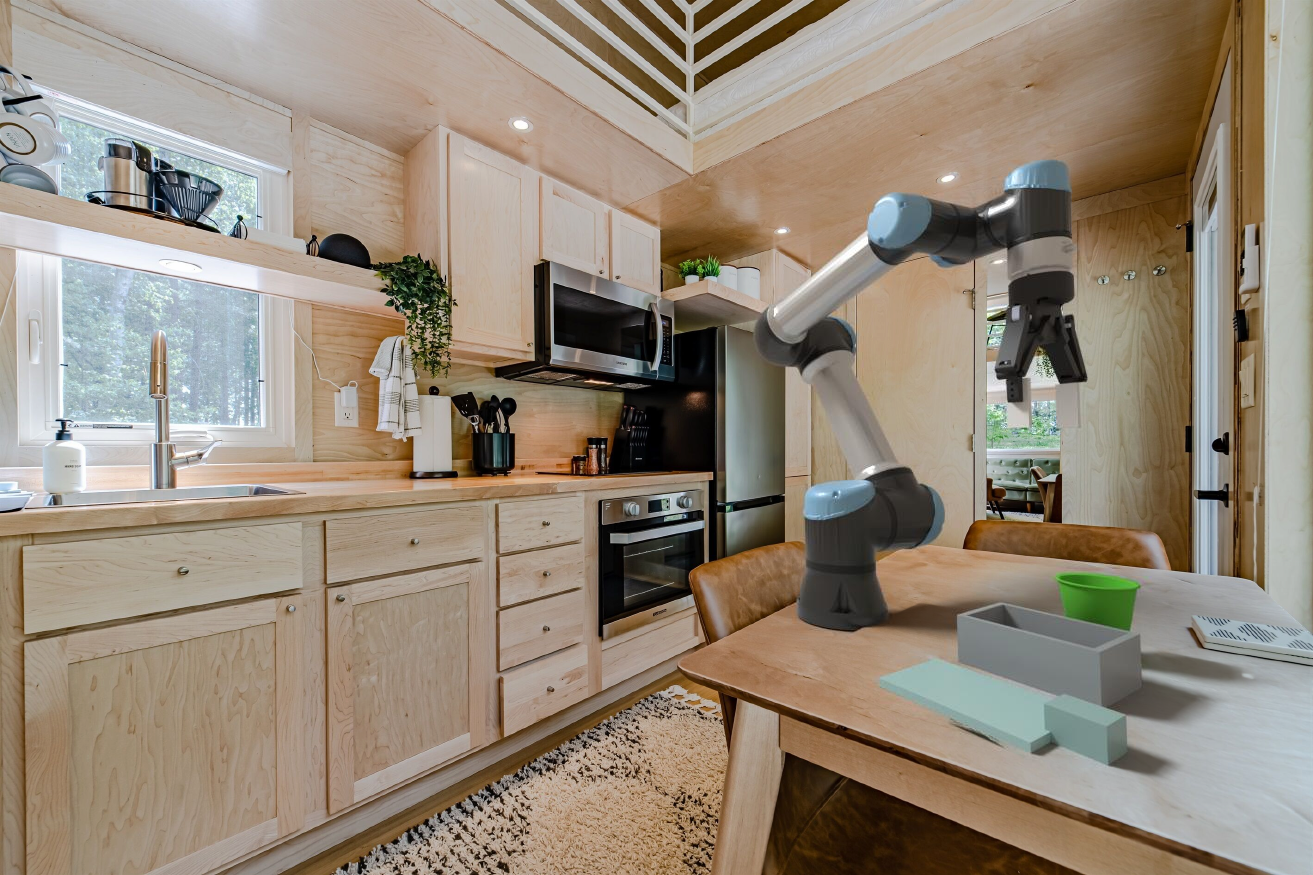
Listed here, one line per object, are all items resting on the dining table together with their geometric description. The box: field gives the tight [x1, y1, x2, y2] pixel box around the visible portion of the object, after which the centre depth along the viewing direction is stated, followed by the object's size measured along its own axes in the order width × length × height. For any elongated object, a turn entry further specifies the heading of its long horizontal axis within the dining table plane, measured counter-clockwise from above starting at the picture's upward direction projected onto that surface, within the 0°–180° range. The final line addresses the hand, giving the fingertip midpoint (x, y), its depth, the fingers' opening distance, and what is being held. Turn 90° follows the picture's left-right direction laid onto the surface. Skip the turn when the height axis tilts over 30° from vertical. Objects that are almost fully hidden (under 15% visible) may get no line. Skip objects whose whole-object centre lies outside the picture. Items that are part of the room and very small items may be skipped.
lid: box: [878, 658, 1128, 766], centre depth 58 cm, size 21×11×4 cm, turn 29°
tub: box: [956, 601, 1143, 708], centre depth 67 cm, size 16×11×7 cm
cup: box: [1054, 571, 1142, 632], centre depth 72 cm, size 9×9×11 cm
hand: (1045, 428), depth 75 cm, fingers open, 13 cm apart
